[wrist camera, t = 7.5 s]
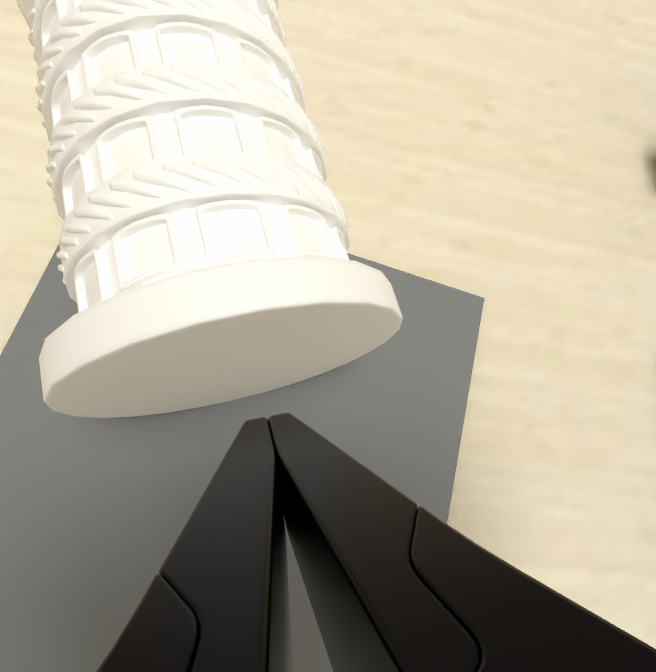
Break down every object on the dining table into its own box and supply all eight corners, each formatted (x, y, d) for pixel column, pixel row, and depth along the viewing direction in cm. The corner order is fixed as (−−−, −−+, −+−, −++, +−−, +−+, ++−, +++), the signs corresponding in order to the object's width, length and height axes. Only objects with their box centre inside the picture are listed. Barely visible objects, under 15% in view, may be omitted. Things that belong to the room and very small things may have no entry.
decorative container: (474, 275, 11) (303, -151, 16) (-57, 361, 7) (-85, -245, 12) (342, 374, 22) (262, 103, 26) (97, 432, 18) (51, 100, 22)
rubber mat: (369, 964, 16) (371, 973, 15) (-255, 854, 14) (-266, 863, 13) (481, 299, 24) (484, 298, 23) (99, 174, 22) (97, 170, 22)
